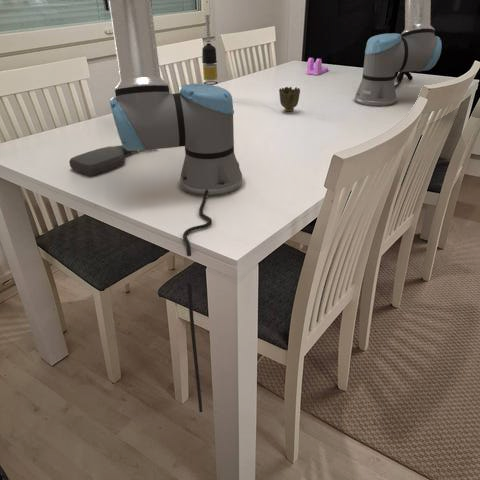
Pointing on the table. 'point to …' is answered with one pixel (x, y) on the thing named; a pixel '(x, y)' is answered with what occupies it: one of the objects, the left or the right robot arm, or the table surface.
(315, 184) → the table surface
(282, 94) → the cup
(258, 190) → the table surface
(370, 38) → the right robot arm
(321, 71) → the bracket
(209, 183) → the left robot arm
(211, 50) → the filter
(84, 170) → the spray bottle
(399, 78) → the squiggle
